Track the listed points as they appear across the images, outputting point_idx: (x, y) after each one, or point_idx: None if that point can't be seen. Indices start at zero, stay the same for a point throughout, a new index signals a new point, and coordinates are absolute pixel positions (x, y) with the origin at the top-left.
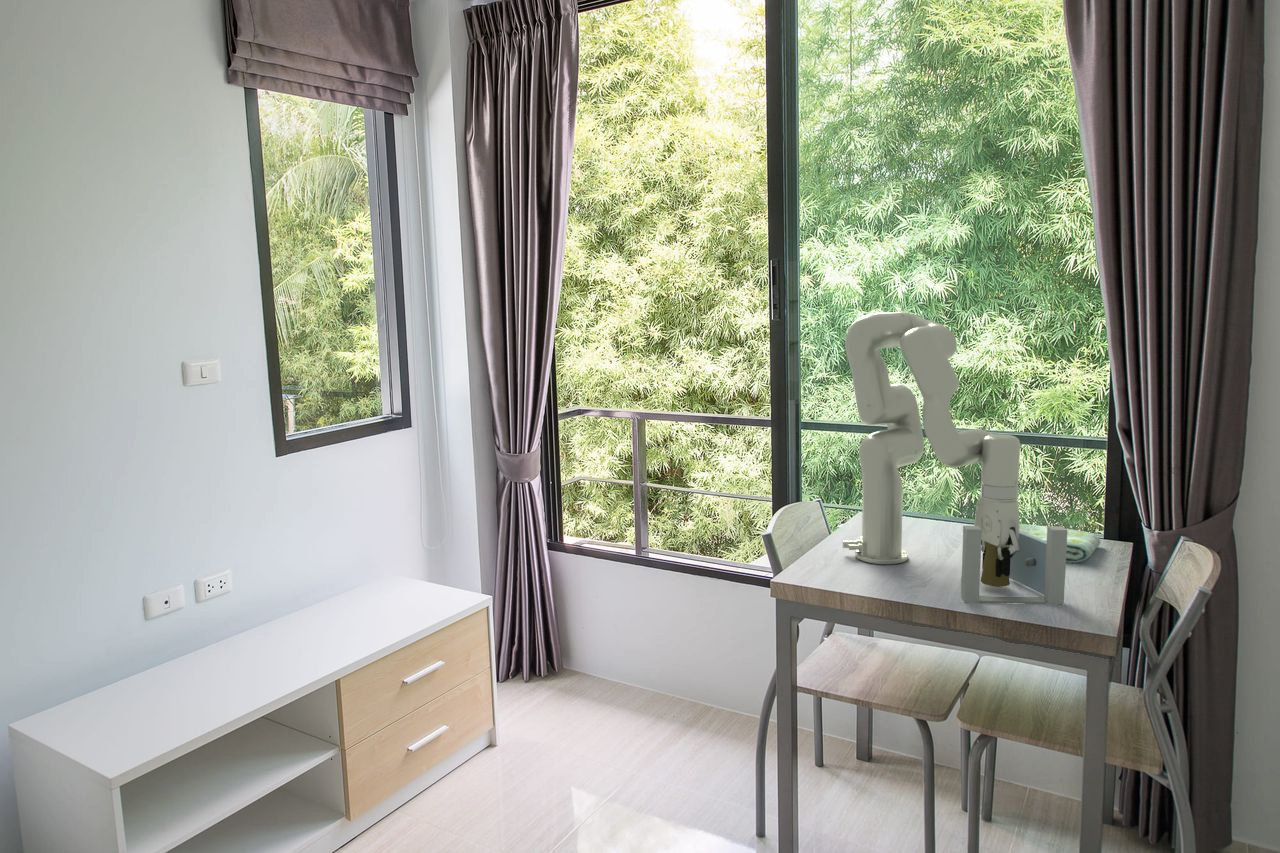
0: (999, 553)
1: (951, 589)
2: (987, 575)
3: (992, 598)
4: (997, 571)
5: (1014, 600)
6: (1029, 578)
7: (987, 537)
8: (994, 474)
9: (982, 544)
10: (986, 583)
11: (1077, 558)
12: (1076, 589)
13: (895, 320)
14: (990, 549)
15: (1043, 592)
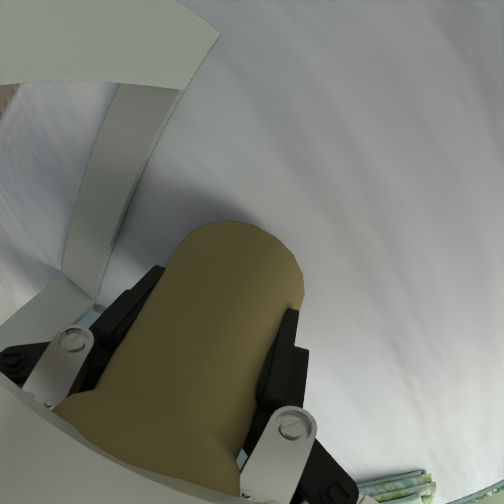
0: (59, 359)
1: (347, 85)
2: (207, 249)
3: (125, 137)
4: (141, 281)
5: (85, 198)
6: None
7: (53, 487)
8: None
9: (295, 464)
10: (222, 225)
11: None
12: None
13: None
14: (121, 392)
15: (92, 316)
